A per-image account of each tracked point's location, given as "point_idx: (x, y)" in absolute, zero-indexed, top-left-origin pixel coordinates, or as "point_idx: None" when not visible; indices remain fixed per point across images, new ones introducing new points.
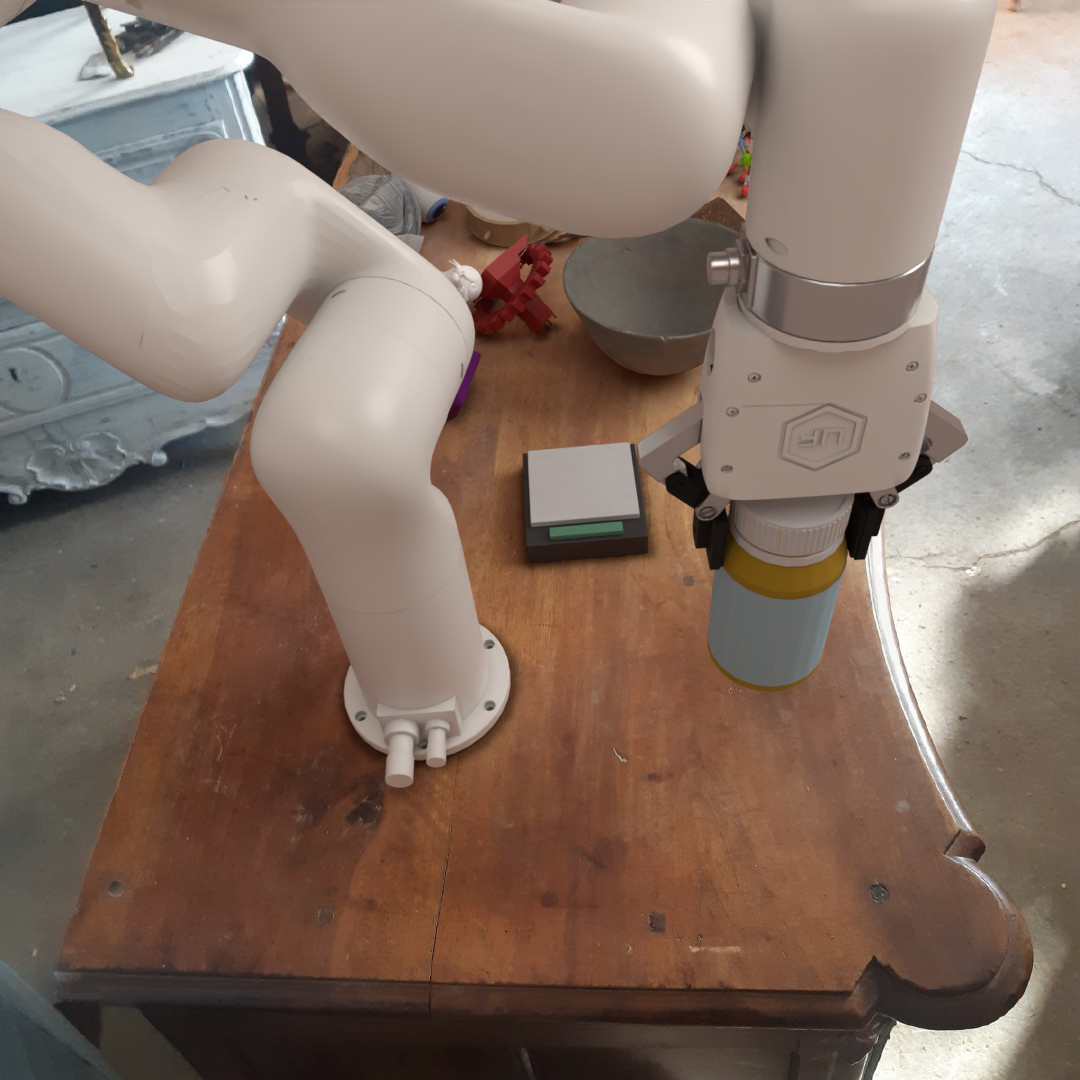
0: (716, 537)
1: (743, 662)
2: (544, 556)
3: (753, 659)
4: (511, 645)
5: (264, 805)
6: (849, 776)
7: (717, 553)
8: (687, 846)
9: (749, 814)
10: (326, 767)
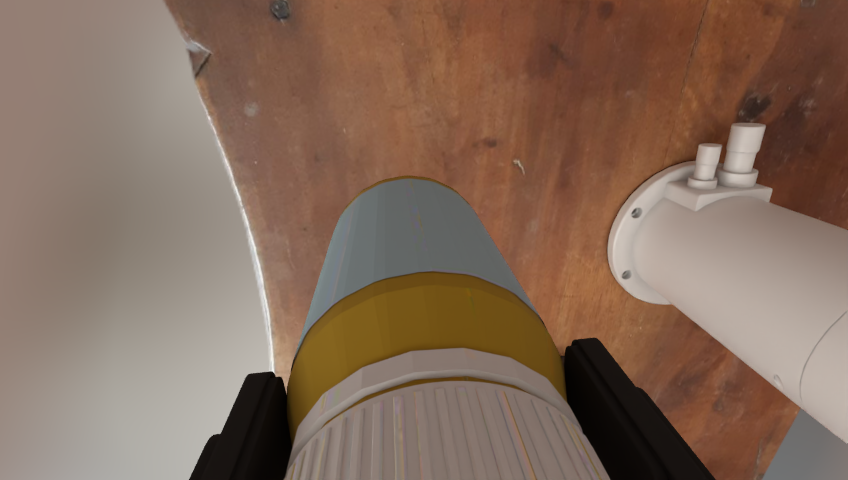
0: (658, 427)
1: (457, 202)
2: (563, 361)
3: (447, 201)
4: (600, 276)
5: (836, 116)
6: (302, 143)
7: (616, 378)
8: (467, 66)
9: (404, 101)
10: (777, 154)
